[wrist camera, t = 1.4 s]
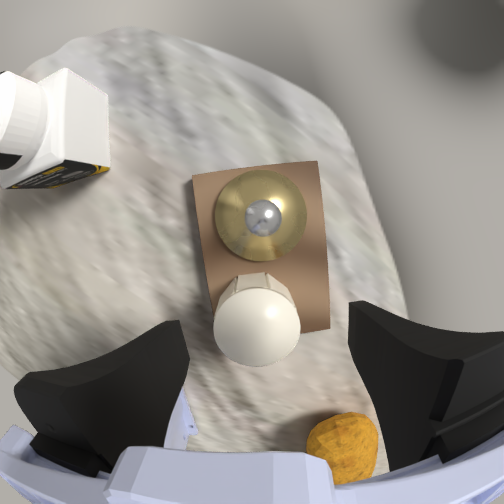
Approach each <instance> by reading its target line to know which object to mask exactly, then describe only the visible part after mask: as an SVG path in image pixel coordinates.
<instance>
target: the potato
mask: <svg viewBox="0 0 504 504" xmlns="http://www.w3.org/2000/svg"><path fill="white" fill-rule="evenodd" d="M306 451H307V454H309V455H312V456H315V457H318V458H321V459H324V460H326V462H327V463H328V465H329V467H330V469H331V471H332V477H333V483H334V485H340V484H345V483H350V482H355V481H359V480H363V479H367V478H370V477H371V476H372V473H373V471H374V468H375V464H376V458H377V451H378V432H377V430H376V427H375V425H374V424H373V423H372V421H371V420H370V419H369V418H368V417H367V416H366V415H364V414H359V413H354V412H348V413H344V414H340V415H335V416H333V417H331V418H329V419H327V420H324V421H322V422H320V423H318V424H317V425H316V426H315V427H314V428H313V429H312V430H311V431H310V434H309V436H308V439H307V445H306Z"/></svg>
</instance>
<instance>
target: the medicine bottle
mask: <svg viewBox="0 0 504 504" xmlns="http://www.w3.org/2000/svg"><path fill="white" fill-rule="evenodd" d="M110 168H111V158H110V143H109V115H108V95H107V94H106V93H104V92H103V91H101V90H100V89H98V88H97V87H95V86H94V85H92V84H91V83H89V82H88V81H86V80H85V79H83V78H82V77H80V76H79V75H77V74H76V73H74V72H72V71H71V70H69V69H68V68H62V69H61V70H59V71H57V72H55V73H53V74H51V75H50V76H48V77H46V78H45V79H43V80H41V81H39V82H38V83H34V82H32V81H29V80H27V79H25V78H23V77H20V76H18V75H16V74H13V73H11V72H9V71H3V72H1V73H0V185H1V188H2V189H29V188H55V187H58V186H61V185H64V184H66V183H69V182H72V181H75V180H78V179H81V178H85V177H88V176H91V175H94V174H98V173H101V172H104V171H108V170H109V169H110Z"/></svg>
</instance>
